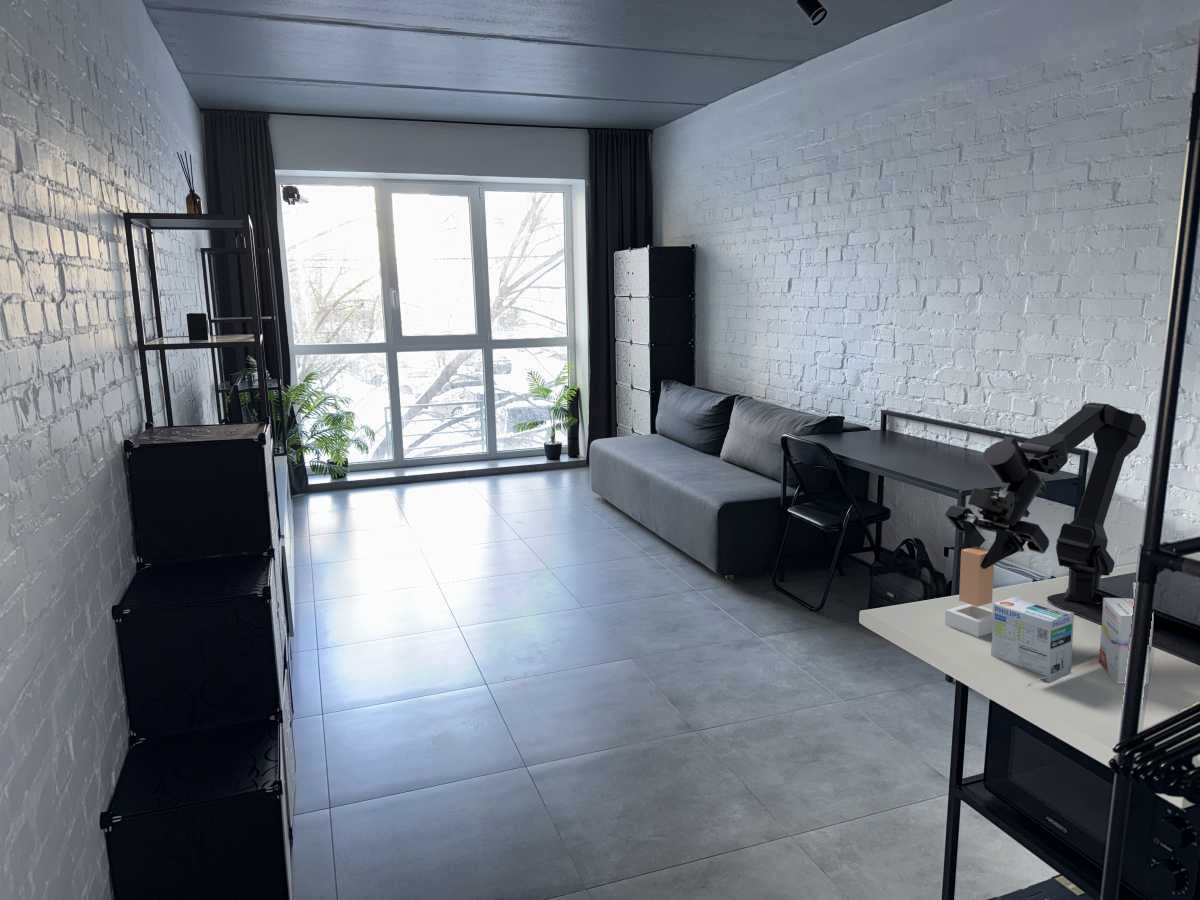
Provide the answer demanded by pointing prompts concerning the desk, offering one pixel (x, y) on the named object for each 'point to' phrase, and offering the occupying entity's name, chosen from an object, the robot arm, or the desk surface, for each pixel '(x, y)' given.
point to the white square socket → (970, 619)
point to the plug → (975, 577)
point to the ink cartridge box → (1118, 636)
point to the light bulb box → (1033, 636)
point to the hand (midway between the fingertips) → (972, 564)
